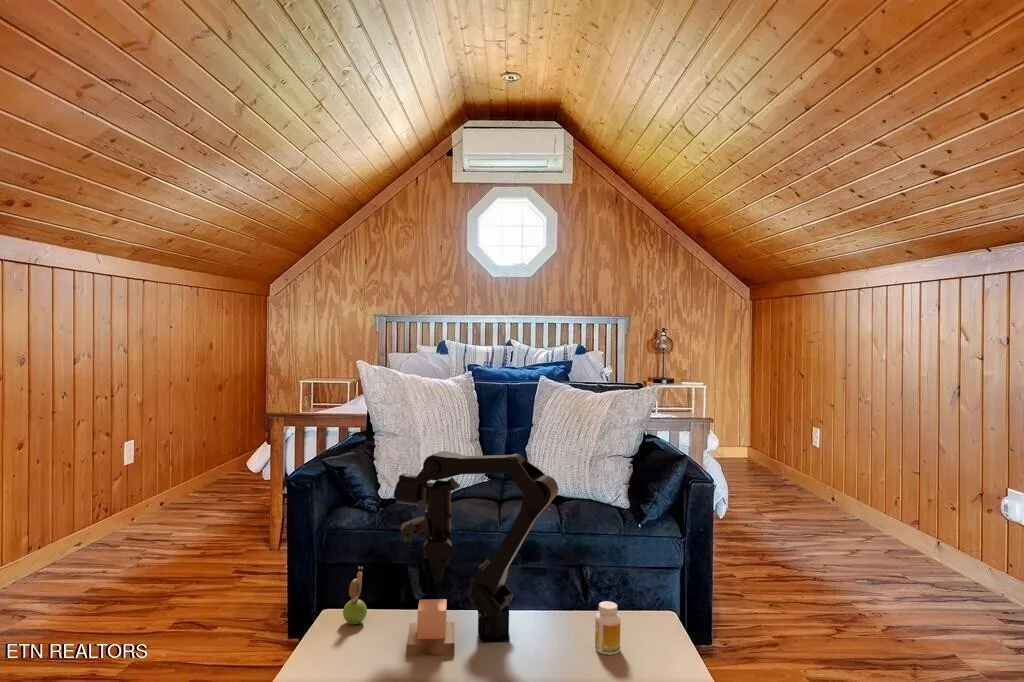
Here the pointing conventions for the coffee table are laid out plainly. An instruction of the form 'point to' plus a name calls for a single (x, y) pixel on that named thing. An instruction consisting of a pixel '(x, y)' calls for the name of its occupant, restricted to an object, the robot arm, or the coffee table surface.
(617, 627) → the supplement bottle
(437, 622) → the terracotta cube
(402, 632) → the coffee table surface
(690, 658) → the coffee table surface
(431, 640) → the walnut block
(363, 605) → the snail figurine
